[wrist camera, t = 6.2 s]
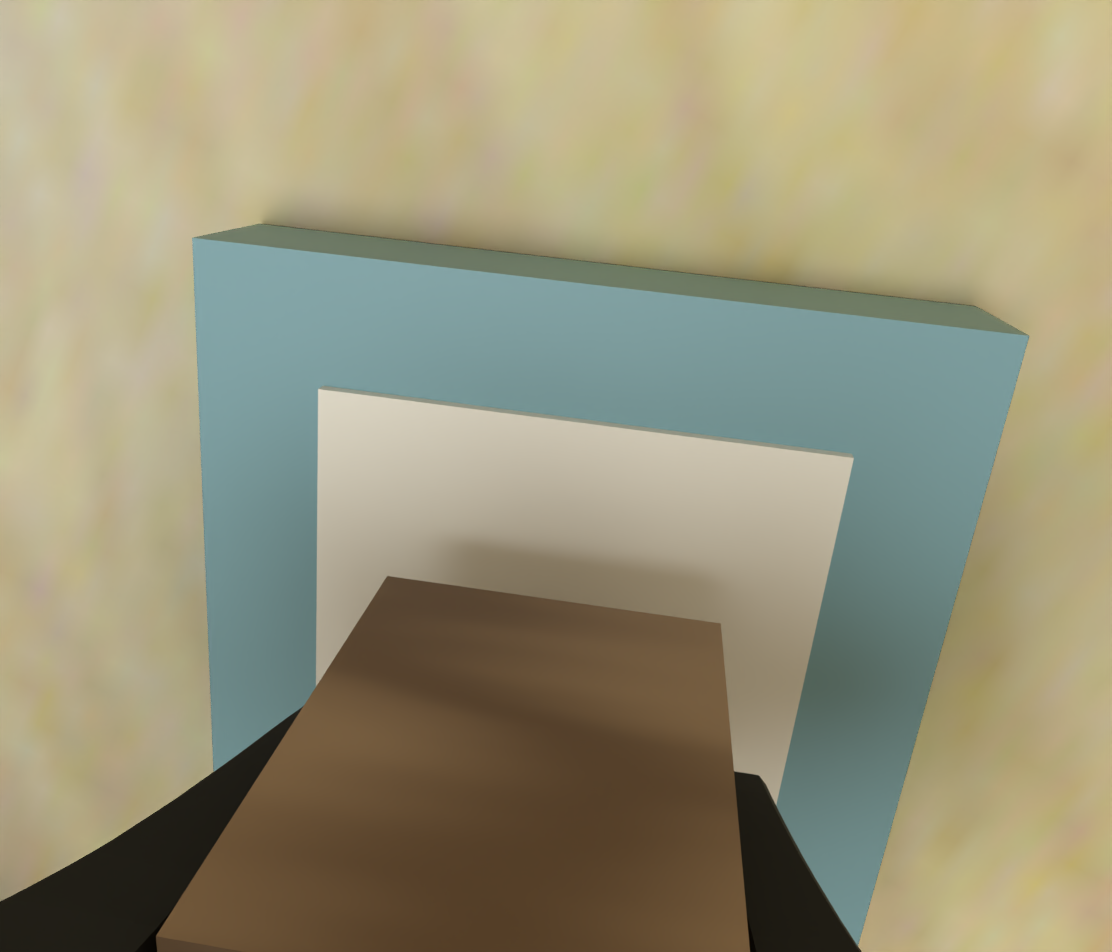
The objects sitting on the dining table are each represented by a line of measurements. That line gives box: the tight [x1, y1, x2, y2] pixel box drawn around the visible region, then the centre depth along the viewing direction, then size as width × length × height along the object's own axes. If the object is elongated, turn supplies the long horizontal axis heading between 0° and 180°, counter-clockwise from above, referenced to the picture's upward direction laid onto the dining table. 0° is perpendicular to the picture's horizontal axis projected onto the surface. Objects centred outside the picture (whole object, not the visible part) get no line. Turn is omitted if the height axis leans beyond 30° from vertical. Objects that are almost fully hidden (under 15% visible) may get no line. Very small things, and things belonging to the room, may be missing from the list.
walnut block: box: [156, 576, 750, 952], centre depth 10 cm, size 4×4×6 cm
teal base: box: [192, 224, 1029, 946], centre depth 16 cm, size 12×12×3 cm
